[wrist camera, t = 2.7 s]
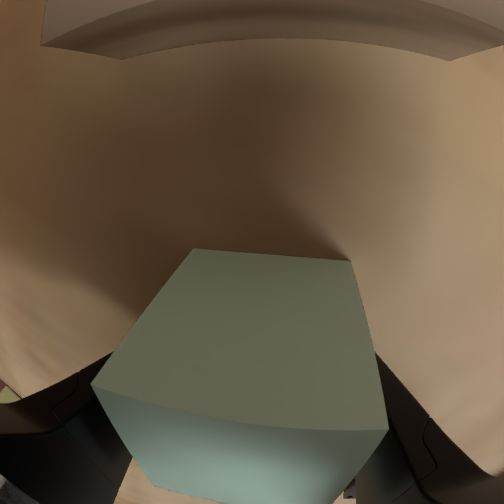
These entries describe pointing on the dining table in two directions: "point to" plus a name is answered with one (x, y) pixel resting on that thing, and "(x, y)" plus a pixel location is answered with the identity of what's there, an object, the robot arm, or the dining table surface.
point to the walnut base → (273, 24)
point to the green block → (249, 380)
